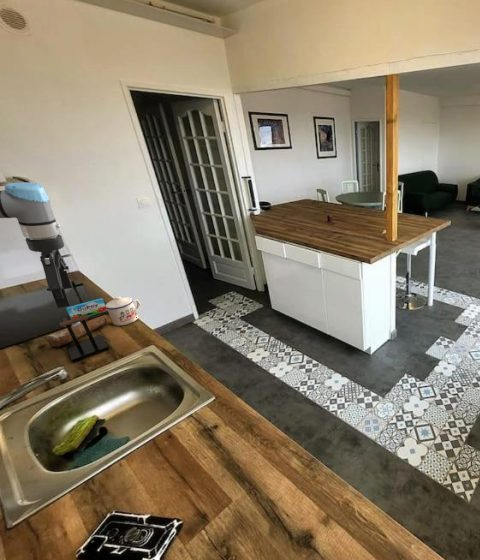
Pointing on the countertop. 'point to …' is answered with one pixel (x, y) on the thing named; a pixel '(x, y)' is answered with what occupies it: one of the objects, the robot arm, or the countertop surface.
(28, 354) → the countertop surface
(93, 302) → the blue printed flat box
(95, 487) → the countertop surface
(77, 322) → the slicer arm
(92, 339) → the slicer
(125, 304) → the teacup with lid
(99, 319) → the bread
